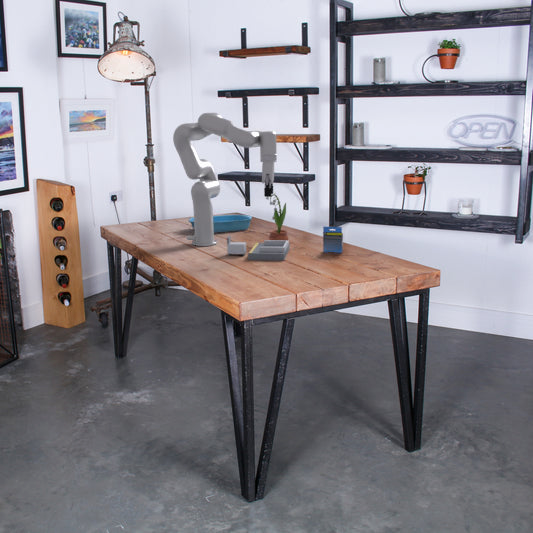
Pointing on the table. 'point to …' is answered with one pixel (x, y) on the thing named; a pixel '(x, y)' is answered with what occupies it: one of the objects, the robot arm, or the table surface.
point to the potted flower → (278, 222)
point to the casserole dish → (228, 223)
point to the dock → (269, 250)
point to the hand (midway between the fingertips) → (268, 195)
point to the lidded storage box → (235, 247)
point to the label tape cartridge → (332, 239)
